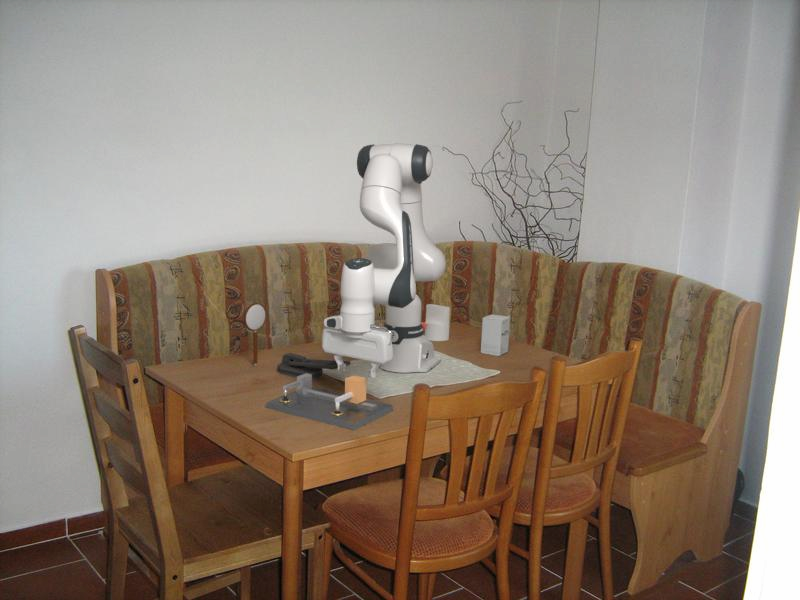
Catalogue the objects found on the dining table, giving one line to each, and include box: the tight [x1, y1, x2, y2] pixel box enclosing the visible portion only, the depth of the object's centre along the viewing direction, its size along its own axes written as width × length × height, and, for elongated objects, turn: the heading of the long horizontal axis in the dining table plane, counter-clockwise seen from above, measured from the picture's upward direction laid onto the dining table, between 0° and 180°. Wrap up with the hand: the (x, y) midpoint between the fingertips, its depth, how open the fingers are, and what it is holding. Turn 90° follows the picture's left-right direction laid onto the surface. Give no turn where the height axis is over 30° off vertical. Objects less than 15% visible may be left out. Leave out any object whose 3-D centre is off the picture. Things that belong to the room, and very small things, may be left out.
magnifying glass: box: [243, 302, 267, 367], centre depth 241 cm, size 9×2×20 cm, turn 141°
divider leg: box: [335, 374, 368, 411], centre depth 200 cm, size 10×4×6 cm, turn 148°
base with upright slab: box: [424, 303, 451, 342], centre depth 285 cm, size 9×9×12 cm
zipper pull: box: [277, 352, 352, 381], centre depth 232 cm, size 9×7×25 cm
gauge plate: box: [266, 373, 394, 431], centre depth 204 cm, size 18×28×6 cm, turn 58°
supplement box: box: [480, 314, 511, 357], centre depth 266 cm, size 7×7×13 cm
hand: (356, 373), depth 202 cm, fingers open, 8 cm apart
